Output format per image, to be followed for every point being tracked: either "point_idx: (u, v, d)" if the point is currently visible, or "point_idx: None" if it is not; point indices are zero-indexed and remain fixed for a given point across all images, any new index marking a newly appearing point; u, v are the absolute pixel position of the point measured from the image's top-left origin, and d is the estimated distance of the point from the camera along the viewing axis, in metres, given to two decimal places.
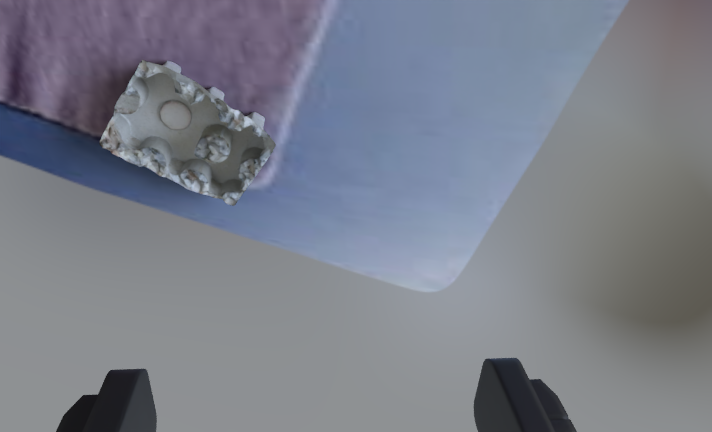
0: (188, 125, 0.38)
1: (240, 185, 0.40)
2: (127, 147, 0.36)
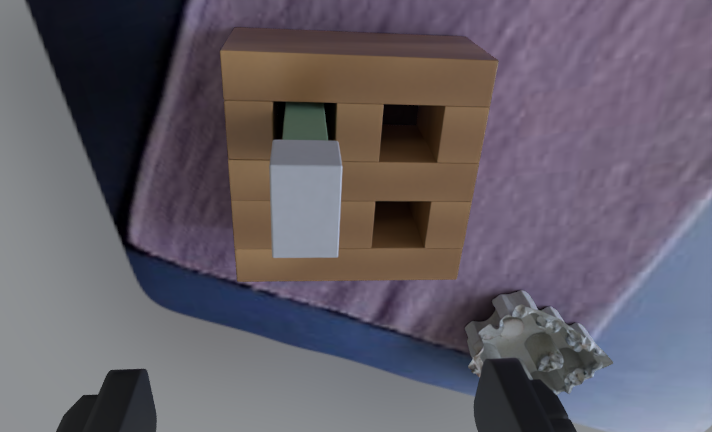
0: (518, 335, 0.43)
1: (550, 380, 0.45)
2: None
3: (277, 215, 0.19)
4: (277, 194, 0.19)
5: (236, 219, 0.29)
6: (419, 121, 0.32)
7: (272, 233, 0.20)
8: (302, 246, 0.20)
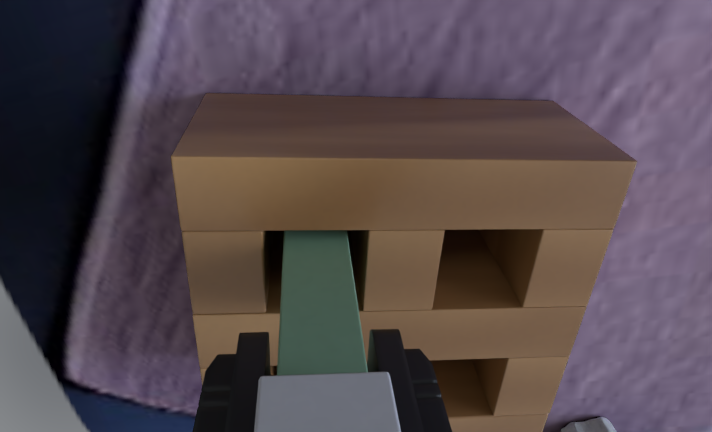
0: None
1: None
2: None
3: None
4: None
5: None
6: None
7: None
8: None
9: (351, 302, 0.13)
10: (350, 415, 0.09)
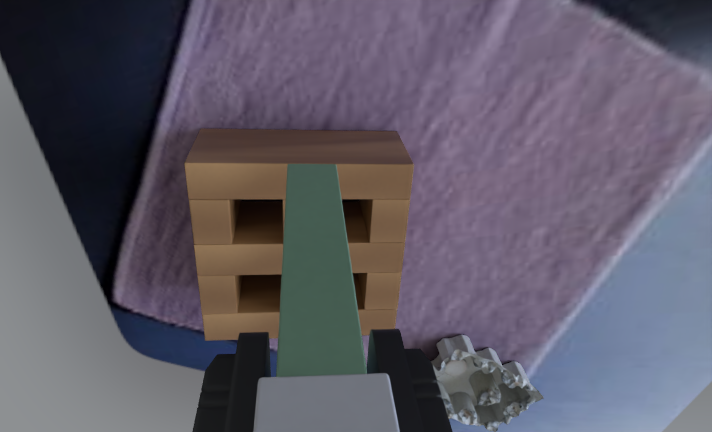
0: (462, 372, 0.49)
1: (493, 411, 0.51)
2: None
3: None
4: None
5: (202, 290, 0.34)
6: (360, 200, 0.38)
7: None
8: None
9: (350, 303, 0.13)
10: (349, 416, 0.09)
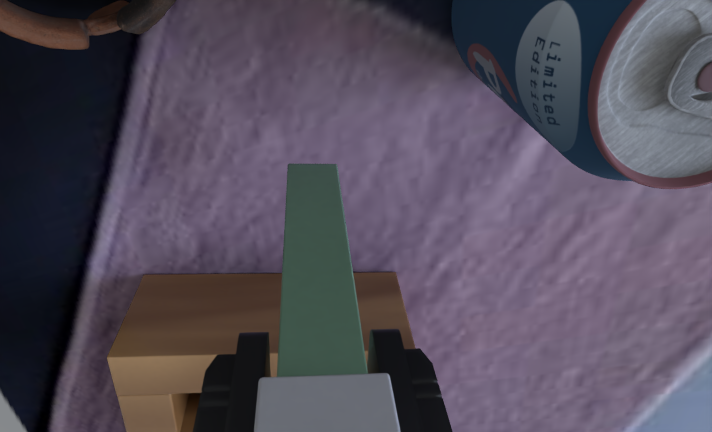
0: None
1: None
2: None
3: None
4: None
5: None
6: None
7: None
8: None
9: (351, 303, 0.13)
10: (350, 416, 0.09)
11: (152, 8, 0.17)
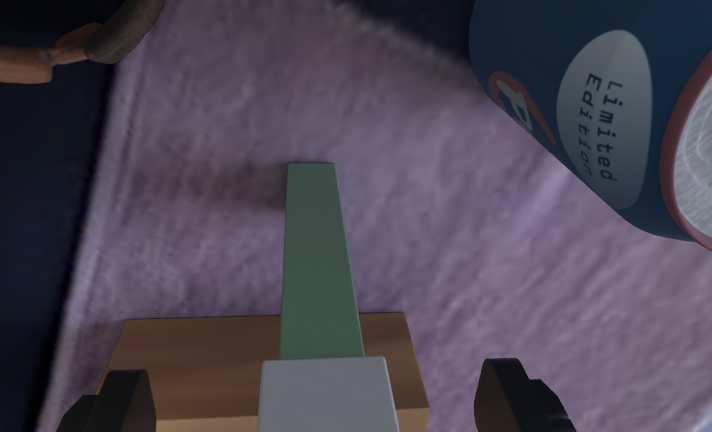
0: None
1: None
2: None
3: None
4: None
5: None
6: None
7: None
8: None
9: (349, 294, 0.14)
10: (348, 395, 0.10)
11: (125, 34, 0.15)
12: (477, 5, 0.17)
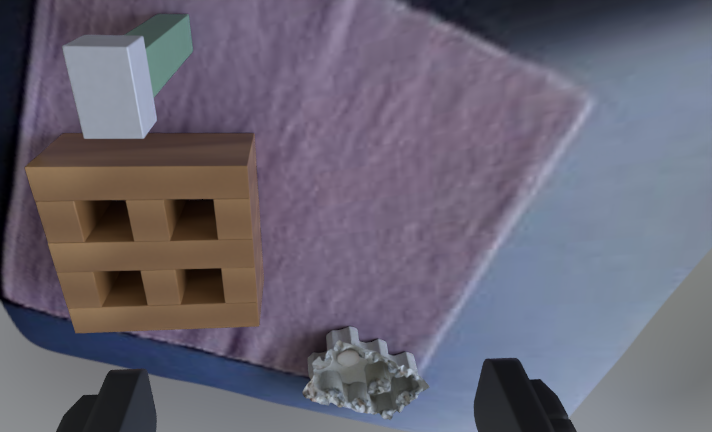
0: (356, 363, 0.51)
1: (390, 400, 0.53)
2: (321, 394, 0.48)
3: (78, 95, 0.22)
4: (74, 74, 0.21)
5: (64, 286, 0.36)
6: None
7: (78, 114, 0.22)
8: (108, 127, 0.22)
9: (152, 40, 0.26)
10: (116, 39, 0.22)
11: None
12: None
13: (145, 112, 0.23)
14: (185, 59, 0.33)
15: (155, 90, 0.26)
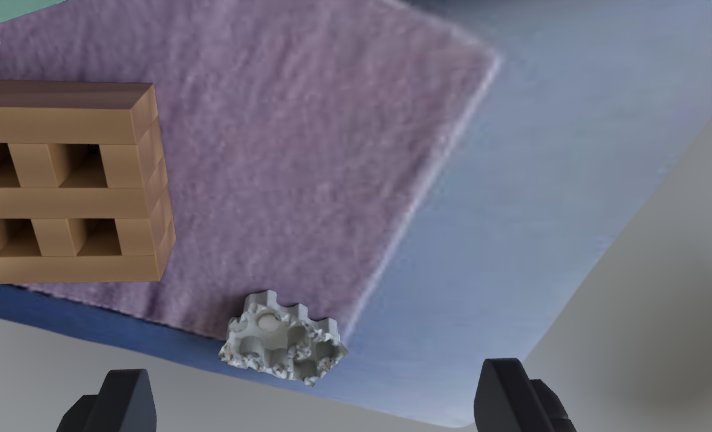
0: (278, 328, 0.50)
1: (315, 367, 0.52)
2: (238, 357, 0.47)
3: None
4: None
5: None
6: None
7: None
8: None
9: None
10: None
11: None
12: None
13: None
14: None
15: (4, 15, 0.25)
